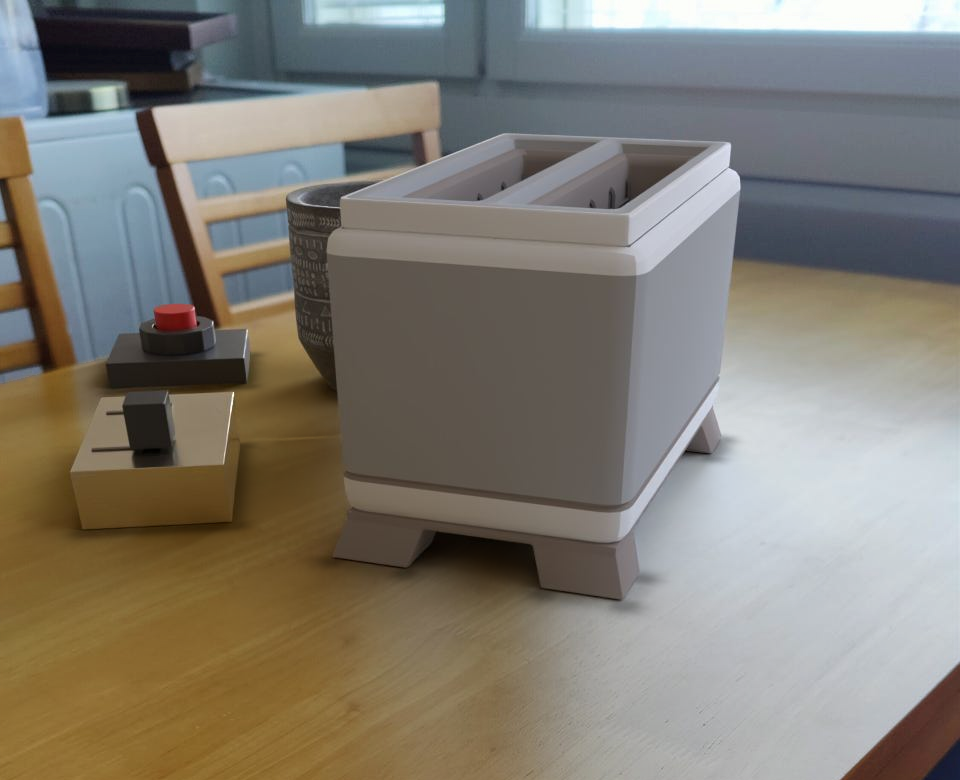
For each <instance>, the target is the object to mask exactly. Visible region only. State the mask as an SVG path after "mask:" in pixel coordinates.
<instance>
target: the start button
mask: <svg viewBox="0 0 960 780" xmlns="http://www.w3.org/2000/svg"><path fill="white" fill-rule="evenodd" d="M195 309H196V308H195V306H194V305H192V304H187V303H168V304H161V305H159V306H156V307H154V308H153V316H154V319H155V323H156V329H157V330H164V331H179V330H186V329H191V328H195V327H197V323H196V316H197V315H196V310H195Z"/></svg>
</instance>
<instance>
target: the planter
mask: <svg viewBox="0 0 960 780" xmlns="http://www.w3.org/2000/svg"><path fill="white" fill-rule="evenodd" d="M384 180H385V179H371V180H369V179H367V180H354V181H353V180H352V181H342V182H331V183H322V184H313V185H309V186H305V187H301V188H298V189H295V190H293V191H291V192H289V193H288V194H287V195H286V196H285V205H286V215H287V223H288V227H287V228H288V242H289V243H288V244H289V255H290V266H291V274H292V282H293V283H292V284H293V288H294V289H293V295H294V299H293V300H294V312H295V323H296V330H297V338H298V340H299V342H300V344H301V346H302V348H303V349H304V351H305V353H306V354H307V356H308V357H309V359H310V360H311V362H312V364H313V365H314V367H315V368H316V369H317V371H318V372H319V375H320V376H322V378H323V379H324V381H325V382H326V384H327V385H328V386H329V388H330V389H332V390H334V391H336V392H337V381H336V368H335V355H334V342H333V329H332V316H331V303H330V290H329V277H328V264H327V243H328V238H329V236H330V235H331V233H332V232H333V231H334V230H336V229H338V228H340V227H342V226H341V213H340V199H341V197H343V196H345V195H348V194H351V193H353V192H356V191H358V190H361V189H363V188H366V187H368V186H371V185H373V184H376V183H379V182H381V181H384Z"/></svg>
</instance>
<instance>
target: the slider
mask: <svg viewBox="0 0 960 780" xmlns="http://www.w3.org/2000/svg"><path fill="white" fill-rule="evenodd" d="M125 394H126V395H125V396H124V397H125V399H124V402H123V405H122V408H123V413H124V419H125V424H126V430H127V435H128V440H129V446H130V449H131V450H138V449H159V448H172V444H173V440H174V436H175V428H174V422H173V416H172V410H171V403H170V397H169V395H170V392H169V390H168V389H165V390H164V389H163V390H160V389H159V390H141V391H137V390H136V391H126V393H125Z"/></svg>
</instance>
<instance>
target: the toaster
mask: <svg viewBox="0 0 960 780" xmlns="http://www.w3.org/2000/svg"><path fill="white" fill-rule="evenodd" d="M731 151H732V144H731V142H729V141H728V142H727V141H706V140H704V141H703V140H682V139H680V140H679V139H656V138H655V139H654V138H631V137H630V138H629V137H608V136H581V135H557V134H556V135H554V134H531V133H530V134H529V133H508V132H507V133H501V134H498V135H496V136H494V137H491V138H488V139H486V140H483V141H480V142H478V143H475V144H473V145H471V146H468V147H466V148H462V149H461V150H458V151H455V152H453V153H450V154H448V155H445V156H442V157H439V158H438V159H435V160H432V161H429V162H426V163H425V164H422V165H419V166H417V167H414V168H412V169H409V170H407V171H405V172H402V173H401V172H400V173H399V174H396V175H394V176H392V177H389V178H386V179H383V180H384V181H381V182H379V183H376V184H373V185H371V186H368V187H366V188H363V189H361V190H358V191H356V192H353V193H351V194H348V195H345V196H343V197H341V199H340V213H341V226H342V227H340V228H338V229H336V230H334V231H333V232H332V233H331V235H330V236H329V238H328V243H327V264H328V277H329V290H330V303H331V316H332V329H333V342H334V355H335V368H336V381H337V391H336V393H337V406H338V420H339V432H340V446H341V460H342V468H343V470H344V472H343V484H344V491H345V496H346V499H347V503H348V504H349V505H350V506H351V507H350V508H348V510H347V511H346V519H345V522H344V524H343V527H342V528H341V529H342V530H341V533H340V535H339V538H338V541H337V544H336V546H335V549H334V551H333V555H332V557H333V558H335V559H336V558H337V559H343V560H349V561H350V560H351V561H358V562H362V563H363V562H364V563H372V564H378V565H385V566H392V567H400V568H409V567H410V566H411V565H412V564H413V562H415V560H416V559H418V557H419V556H421V554H422V553H423V552H424V551H425V550H426V549H427V548H428V547H429V546H430V545H432V542H433V540H434V538H435V535H436V533H437V532H440V533H446V534H455V535H462V536H467V537H477V538H483V539H490V540H491V539H492V540H497V541H505V542H511V543H512V542H513V543H520V544H526V545H531V546H532V548H533V549H532V550H533V553H534V558H535V563H536V569H537V570H536V571H537V575H538V580H539V585H540V587H541V589H542V588H543V589H547V590H555V591H559V592H560V591H561V592H566V593H567V592H569V593H574V594H581V595H588V596H595V597H599V598H608V599H613V600H620V601H623V600H624V599H625V598H626V596H627V595H628V593H629V591H630V589H631V587H632V586H633V584H634V583H635V581H636V579H637V578H638V576H639V574H640V571H641V570H640V565H639V559H638V558H639V557H638V553H637V552H638V551H637V547H636V540H635V535H634V530H635V528H636V526H637V524H638V523H639V521H640V520H641V518H642V517H643V515H644V514H645V512H646V510H647V509H648V507H649V506H650V504H651V503H652V501H653V500H654V498H655V497H656V495H657V494H658V493H659V491H660V489H661V488H662V486H663V484H665V482H666V480H667V479H668V477H669V476H670V474H671V472H672V471H673V470H674V469H675V466H676V465H677V464H678V462H679V461H680V459H681V457H683V454H684V453H685V451H686V452H694V453H703V454H704V453H705V454H713V452H714V451H715V449H716V447H717V445H718V444H719V442H720V440H721V438H722V437H723V436H722V432H721V430H720V429H721V428H720V426H719V423H718V419H717V417H716V413H715V410H714V404H715V403H716V400H717V397H718V393H719V387H720V378H721V377H720V374H721V369H722V361H723V360H722V359H723V350H724V343H725V342H724V341H725V332H726V325H727V316H728V315H727V314H728V306H729V296H730V286H731V277H732V271H733V269H732V268H733V261H734V251H735V241H736V233H737V223H738V216H739V215H738V214H739V205H740V199H741V198H740V197H741V178H740V175H739V174H738V172H737V171H736V170H734V169H731V168H730V162H731Z"/></svg>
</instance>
